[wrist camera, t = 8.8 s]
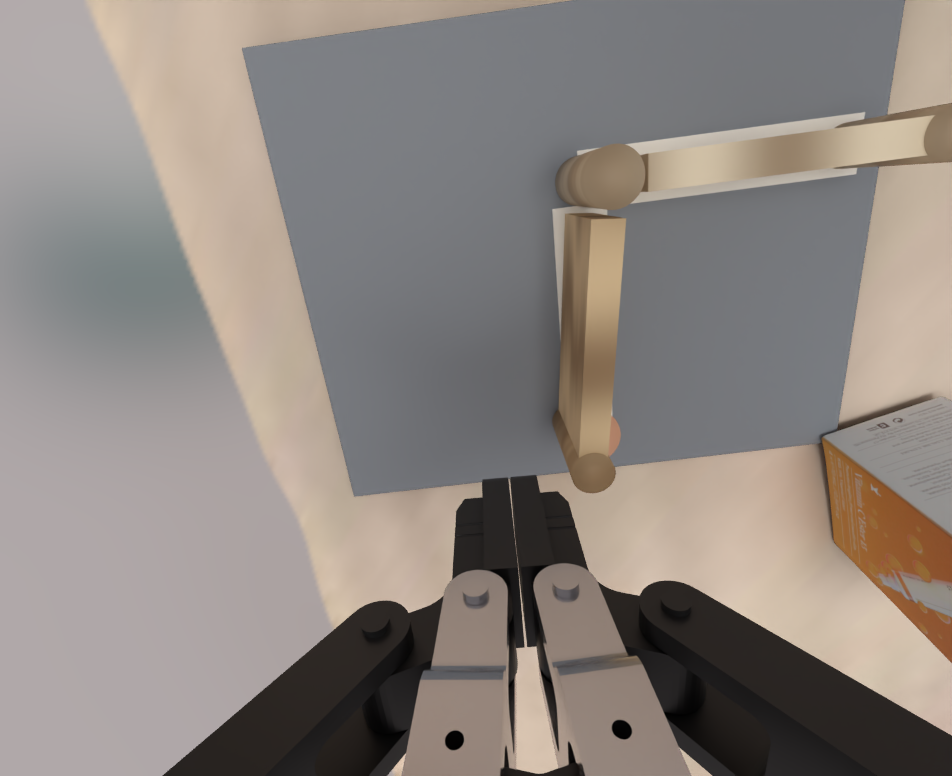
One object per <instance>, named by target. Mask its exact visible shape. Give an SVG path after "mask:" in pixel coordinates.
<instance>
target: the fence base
mask: <svg viewBox="0 0 952 776" xmlns="http://www.w3.org/2000/svg"><path fill="white" fill-rule="evenodd" d="M943 162H952V103H949V104H944V105H938V106H933V107H928V108H922V109H917V110H911V111H906V112H900V113H895V114H890V115H884V116H879V117H873V118H868V119H863V120H857V121H852V122H846V123H843V124H840V125H838V126H837V127H835V128H834V129H827V130H820V131H812V132H805V133H797V134H790V135H782V136H775V137H767V138H760V139H752V140H745V141H737V142H730V143H722V144H715V145H707V146H700V147H693V148H685V149H678V150H670V151H663V152H655V153H648V154H643V155H639V153H638V152H637V151H636V150H635V149H633V148H632V147H630V146H628V145H625V144H610V145H607V146H604V147H601V148H598V149H595V150H592V151H589V152H587V153H584V154H581V155H578V156H575V157H572V158H570V159H568V160H566V161H565V162H564V163H563V164H562V165H561V166H560V168H559V170H558V172H557V174H556V179H555V186H556V191H557V193H558V195H559V197H560V198H561V199H562V200H563V201H564V202H565V203H567V204H570V205H573V206H581V207H589V208H597V209H605V210H617V209H621V208H624V207H626V206H627V205H629V204H630V203H632V202H633V201H634V200H635V199H636V198H637V196H638V195H639V194H640V192H652V191H659V190H667V189H674V188H682V187H690V186H697V185H705V184H712V183H720V182H728V181H735V180H743V179H750V178H758V177H766V176H773V175H781V174H789V173H796V172H804V171H811V170H819V169H827V168H834V169H847V168H863V167H879V166H895V165H911V164H927V163H943Z"/></svg>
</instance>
